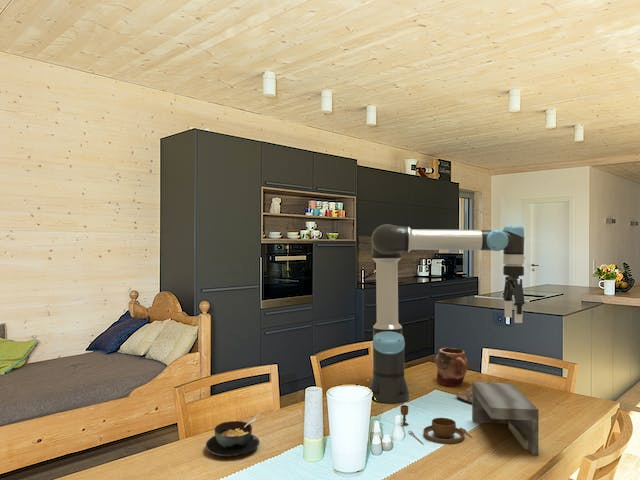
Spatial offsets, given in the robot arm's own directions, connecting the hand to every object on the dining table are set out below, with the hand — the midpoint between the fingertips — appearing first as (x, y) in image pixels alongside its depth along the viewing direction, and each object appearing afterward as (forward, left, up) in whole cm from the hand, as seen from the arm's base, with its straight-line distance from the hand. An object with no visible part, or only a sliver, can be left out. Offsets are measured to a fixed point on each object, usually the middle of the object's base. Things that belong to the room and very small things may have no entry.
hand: (513, 320), depth 197 cm
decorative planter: (-22, +6, -28) cm, 36 cm away
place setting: (-35, -46, -28) cm, 64 cm away
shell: (-20, -19, -28) cm, 40 cm away
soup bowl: (-93, -64, -28) cm, 117 cm away
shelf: (-17, -49, -28) cm, 58 cm away
